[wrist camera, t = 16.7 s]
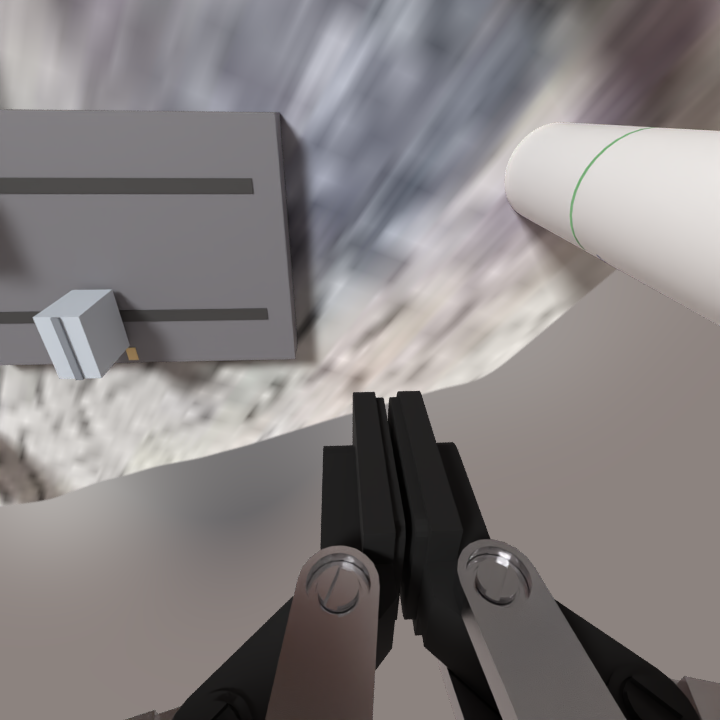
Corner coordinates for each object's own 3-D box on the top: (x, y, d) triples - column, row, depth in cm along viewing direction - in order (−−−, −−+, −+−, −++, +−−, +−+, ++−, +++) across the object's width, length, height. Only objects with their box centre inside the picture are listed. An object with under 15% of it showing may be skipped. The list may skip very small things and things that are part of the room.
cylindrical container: (553, 233, 36) (885, 420, 14) (486, 195, 34) (754, 344, 12) (613, 151, 32) (1153, 230, 11) (543, 102, 30) (1036, 87, 9)
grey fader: (72, 289, 32) (30, 318, 28) (112, 289, 32) (76, 318, 28) (93, 345, 35) (58, 380, 30) (129, 345, 35) (100, 379, 30)
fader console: (-133, 107, 28) (-180, 107, 26) (279, 112, 30) (274, 112, 27) (-8, 348, 38) (-33, 366, 36) (297, 342, 40) (295, 359, 37)
